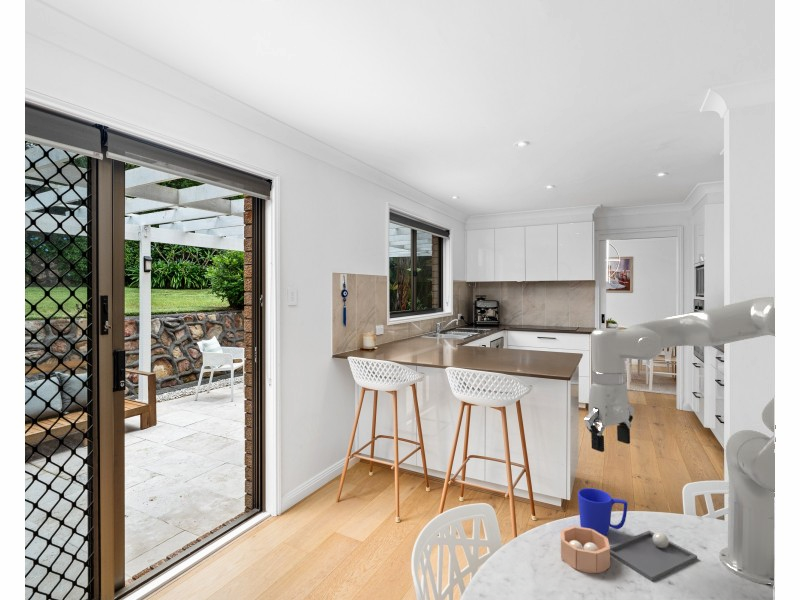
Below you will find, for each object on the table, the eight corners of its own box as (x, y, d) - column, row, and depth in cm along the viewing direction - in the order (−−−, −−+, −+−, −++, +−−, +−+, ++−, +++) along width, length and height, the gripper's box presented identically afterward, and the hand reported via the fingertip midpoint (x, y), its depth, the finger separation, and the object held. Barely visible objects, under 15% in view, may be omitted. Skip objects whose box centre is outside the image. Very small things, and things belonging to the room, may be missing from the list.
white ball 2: (584, 548, 107) (596, 542, 106) (591, 563, 104) (604, 557, 103) (578, 544, 105) (590, 537, 104) (585, 559, 102) (598, 552, 101)
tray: (648, 534, 114) (648, 530, 114) (697, 560, 104) (697, 555, 104) (604, 553, 107) (604, 548, 107) (651, 582, 96) (651, 577, 96)
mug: (631, 544, 110) (632, 505, 110) (581, 539, 113) (581, 501, 112) (622, 526, 118) (622, 490, 118) (575, 522, 121) (575, 486, 120)
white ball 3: (658, 541, 111) (658, 528, 111) (671, 548, 108) (671, 535, 108) (649, 545, 109) (649, 531, 109) (663, 552, 106) (663, 538, 106)
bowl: (581, 542, 111) (582, 522, 111) (618, 565, 102) (619, 544, 102) (551, 553, 107) (551, 533, 107) (587, 579, 97) (587, 557, 97)
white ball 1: (577, 549, 107) (572, 535, 107) (588, 553, 104) (583, 539, 104) (567, 557, 106) (562, 543, 106) (578, 562, 102) (573, 547, 103)
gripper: (617, 371, 116) (620, 435, 116) (572, 380, 108) (574, 448, 108) (645, 376, 109) (647, 443, 110) (598, 385, 101) (600, 458, 102)
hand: (611, 446), depth 109 cm, fingers open, 9 cm apart
